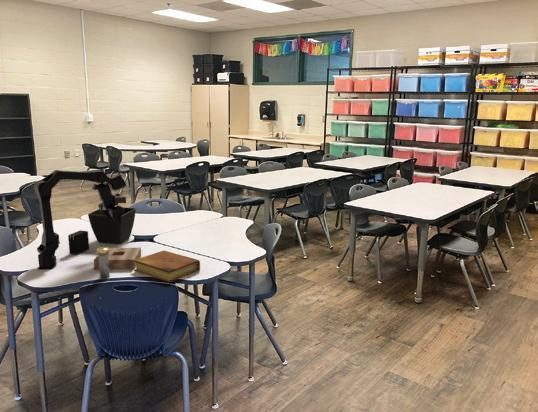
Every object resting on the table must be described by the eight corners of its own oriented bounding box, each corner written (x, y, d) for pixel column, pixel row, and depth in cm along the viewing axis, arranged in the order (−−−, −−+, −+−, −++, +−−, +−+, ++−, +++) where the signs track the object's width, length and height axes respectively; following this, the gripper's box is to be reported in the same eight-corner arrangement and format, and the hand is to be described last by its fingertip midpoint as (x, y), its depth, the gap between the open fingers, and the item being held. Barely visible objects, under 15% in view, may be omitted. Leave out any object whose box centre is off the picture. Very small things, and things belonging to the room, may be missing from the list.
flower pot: (122, 246, 243) (120, 215, 239) (89, 244, 246) (86, 213, 242) (137, 236, 261) (136, 208, 258) (106, 235, 264) (104, 206, 261)
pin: (97, 279, 197) (95, 250, 195) (100, 275, 202) (98, 247, 200) (109, 279, 198) (107, 250, 195) (112, 275, 203) (110, 246, 200)
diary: (200, 271, 211) (200, 259, 210) (169, 283, 196) (169, 270, 195) (165, 260, 224) (165, 249, 222) (134, 271, 209) (133, 259, 208)
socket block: (94, 269, 209) (93, 260, 208) (103, 256, 227) (103, 248, 226) (134, 268, 211) (134, 259, 210) (141, 256, 228) (140, 247, 228)
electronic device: (89, 249, 238) (88, 230, 236) (76, 255, 229) (75, 235, 226) (82, 248, 239) (81, 229, 237) (69, 254, 230) (67, 235, 228)
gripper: (128, 191, 221) (139, 220, 227) (113, 185, 235) (123, 213, 241) (107, 200, 215) (118, 230, 221) (93, 194, 229) (103, 222, 235)
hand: (116, 223), depth 229 cm, fingers open, 9 cm apart
